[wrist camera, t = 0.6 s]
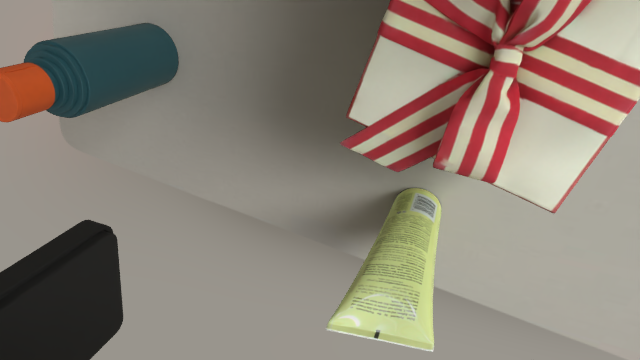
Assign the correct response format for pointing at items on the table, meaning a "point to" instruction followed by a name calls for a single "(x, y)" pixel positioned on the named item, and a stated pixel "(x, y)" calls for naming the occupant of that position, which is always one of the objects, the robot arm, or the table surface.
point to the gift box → (499, 89)
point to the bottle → (104, 66)
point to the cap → (24, 91)
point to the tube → (396, 278)
